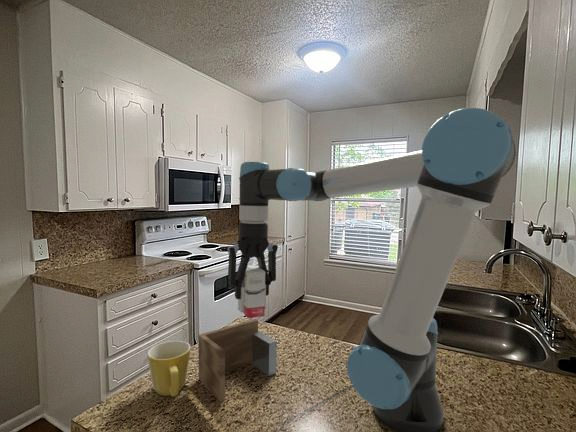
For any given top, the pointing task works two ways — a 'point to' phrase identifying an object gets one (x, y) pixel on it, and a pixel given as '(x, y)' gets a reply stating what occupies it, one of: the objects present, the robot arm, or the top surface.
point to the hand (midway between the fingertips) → (251, 308)
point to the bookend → (264, 353)
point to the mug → (169, 366)
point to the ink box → (254, 292)
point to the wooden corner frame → (224, 354)
